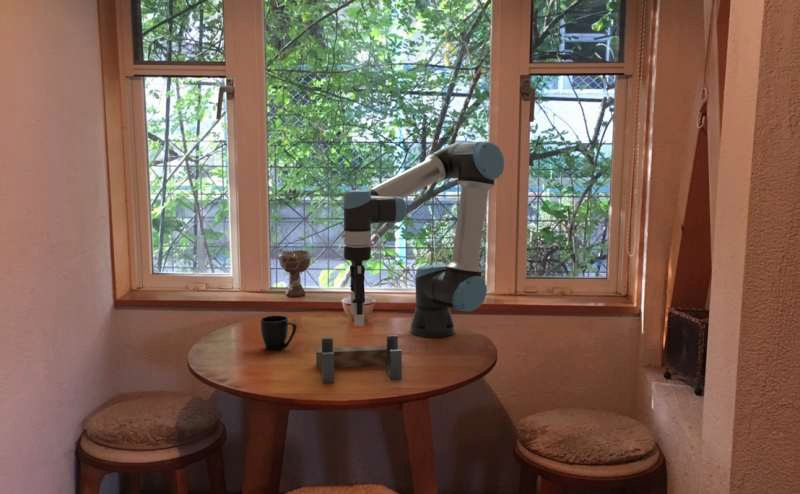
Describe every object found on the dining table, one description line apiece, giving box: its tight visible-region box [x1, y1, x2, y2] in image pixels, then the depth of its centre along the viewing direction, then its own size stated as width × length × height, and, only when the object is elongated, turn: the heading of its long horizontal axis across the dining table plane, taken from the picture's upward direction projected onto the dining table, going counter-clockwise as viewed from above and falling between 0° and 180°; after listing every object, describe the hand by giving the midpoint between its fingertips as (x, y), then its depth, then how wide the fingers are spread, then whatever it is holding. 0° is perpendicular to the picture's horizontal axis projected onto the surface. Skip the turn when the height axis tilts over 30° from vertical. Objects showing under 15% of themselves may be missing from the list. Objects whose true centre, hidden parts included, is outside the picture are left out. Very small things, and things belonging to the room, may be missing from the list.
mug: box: [260, 315, 298, 352], centre depth 194 cm, size 8×12×10 cm
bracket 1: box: [321, 337, 335, 384], centre depth 169 cm, size 3×8×10 cm, turn 8°
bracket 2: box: [386, 334, 403, 381], centre depth 171 cm, size 3×8×10 cm, turn 8°
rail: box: [315, 344, 401, 370], centre depth 180 cm, size 24×4×5 cm, turn 99°
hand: (357, 319), depth 178 cm, fingers open, 13 cm apart
